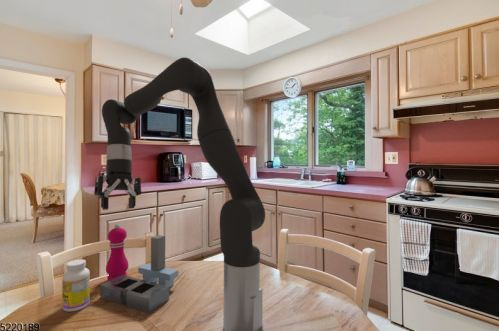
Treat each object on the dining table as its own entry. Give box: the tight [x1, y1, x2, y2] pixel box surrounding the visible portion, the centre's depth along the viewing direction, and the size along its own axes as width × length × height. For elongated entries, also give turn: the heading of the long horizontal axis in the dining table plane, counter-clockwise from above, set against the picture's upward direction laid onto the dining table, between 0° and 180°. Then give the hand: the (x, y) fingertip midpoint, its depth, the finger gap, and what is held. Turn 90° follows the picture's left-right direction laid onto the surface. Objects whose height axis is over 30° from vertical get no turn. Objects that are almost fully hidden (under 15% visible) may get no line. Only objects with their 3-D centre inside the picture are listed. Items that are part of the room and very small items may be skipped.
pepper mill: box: [105, 223, 129, 282], centre depth 92 cm, size 7×7×20 cm
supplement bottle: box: [61, 259, 91, 312], centre depth 75 cm, size 7×7×13 cm
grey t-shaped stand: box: [137, 234, 179, 289], centre depth 89 cm, size 14×4×16 cm, turn 66°
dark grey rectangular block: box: [99, 275, 170, 314], centre depth 80 cm, size 20×8×4 cm, turn 66°
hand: (119, 209), depth 84 cm, fingers open, 8 cm apart
